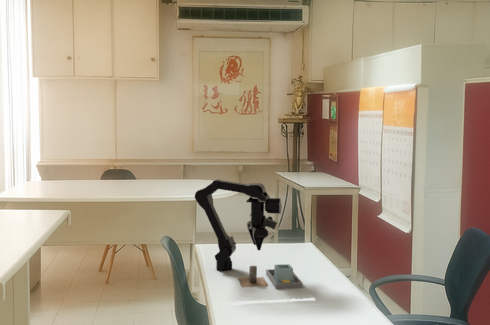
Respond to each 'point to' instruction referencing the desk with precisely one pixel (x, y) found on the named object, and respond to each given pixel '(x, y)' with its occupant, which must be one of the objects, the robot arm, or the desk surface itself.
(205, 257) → the desk surface
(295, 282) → the tray
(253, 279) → the stake
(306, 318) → the desk surface
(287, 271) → the sleeve
